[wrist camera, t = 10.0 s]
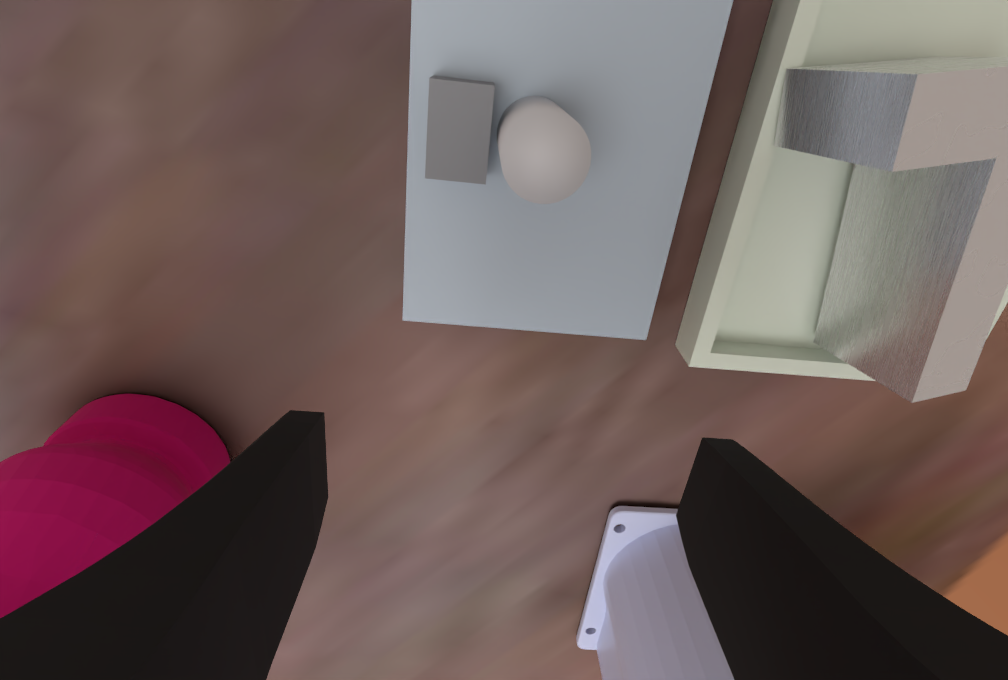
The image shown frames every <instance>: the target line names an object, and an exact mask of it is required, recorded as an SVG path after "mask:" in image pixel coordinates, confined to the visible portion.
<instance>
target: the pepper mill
mask: <svg viewBox="0 0 1008 680" xmlns="http://www.w3.org/2000/svg"><path fill="white" fill-rule="evenodd" d="M229 463H230V459H229V455H228V452H227V449H226V446H225V445H224V443H223V442H222V440H221V439H220V438H219V436H218V435H217V433H216V432H215V431H214V429H213V428H211V427H210V426H209V425H208V424H207V423H206V422H205V421H203V420H202V419H201V418H200V417H199V416H198V415H196V414H194V413H193V412H191V411H189V410H187V409H185V408H184V407H182V406H180V405H178V404H176V403H173V402H170V401H167V400H164V399H161V398H158V397H155V396H148V395H140V394H128V393H127V394H118V395H111V396H106V397H103V398H100V399H97V400H94V401H92V402H90V403H88V404H86V405H84V406H83V407H82V408H80V409H79V410H78V411H77V412H76V413H75V414H74V415H72V416H71V417H70V418H69V419H68V420H67V421H66V422H65V423H64V424H63V425H62V426H61V427H59V428H58V429H57V430H56V431H55V432H54V433H53V434H52V435H51V436H50V437H49V438H48V440H47V441H46V442H45V443H44V446H43V447H39V448H34V449H30V450H27V451H24V452H21V453H18V454H15V455H13V456H11V457H9V458H7V459H5V460H3V461H2V462H0V618H2V617H4V616H5V615H7V614H9V613H11V612H12V611H14V610H16V609H18V608H19V607H21V606H23V605H24V604H26V603H28V602H30V601H31V600H33V599H35V598H37V597H38V596H40V595H42V594H43V593H45V592H47V591H49V590H50V589H52V588H54V587H56V586H57V585H59V584H61V583H62V582H64V581H66V580H68V579H69V578H71V577H73V576H75V575H76V574H78V573H80V572H81V571H83V570H84V569H86V568H88V567H89V566H91V565H93V564H94V563H96V562H97V561H99V560H100V559H102V558H103V557H105V556H106V555H108V554H109V553H111V552H113V551H114V550H116V549H117V548H119V547H120V546H122V545H123V544H125V543H126V542H128V541H129V540H131V539H132V538H134V537H135V536H137V535H138V534H139V533H141V532H142V531H144V530H145V529H147V528H148V527H149V526H151V525H152V524H153V523H155V522H156V521H158V520H159V519H160V518H162V517H163V516H164V515H165V514H167V513H168V512H169V511H171V510H172V509H173V508H175V507H176V506H177V505H178V504H180V503H181V502H182V501H184V500H185V499H186V498H188V497H189V496H190V495H192V494H193V493H194V492H195V491H197V490H198V489H199V488H200V487H202V486H203V485H204V484H205V483H207V482H208V481H209V480H210V479H211V478H213V477H214V476H215V475H216V474H217V473H219V472H220V471H221V470H222V469H223V468H224V467H226V466H227V465H228V464H229Z"/></svg>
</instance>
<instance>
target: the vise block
mask: <svg viewBox="0 0 1008 680" xmlns="http://www.w3.org/2000/svg"><path fill="white" fill-rule="evenodd" d="M732 4H733V0H412V11H411V46H410V81H409V116H408V151H407V185H406V220H405V255H404V290H403V321H416V322H428V323H441V324H453V325H466V326H478V327H490V328H503V329H515V330H528V331H540V332H552V333H565V334H577V335H590V336H602V337H614V338H627V339H639V340H646V339H647V335H648V331H649V327H650V323H651V319H652V315H653V311H654V308H655V304H656V300H657V296H658V292H659V288H660V284H661V280H662V276H663V272H664V269H665V265H666V261H667V257H668V253H669V249H670V245H671V241H672V237H673V233H674V230H675V226H676V222H677V218H678V214H679V210H680V206H681V202H682V198H683V195H684V191H685V187H686V183H687V179H688V175H689V171H690V167H691V163H692V159H693V156H694V152H695V148H696V144H697V140H698V136H699V132H700V128H701V124H702V120H703V117H704V113H705V109H706V105H707V101H708V97H709V93H710V89H711V85H712V82H713V78H714V74H715V70H716V66H717V62H718V58H719V54H720V50H721V46H722V43H723V39H724V35H725V31H726V27H727V23H728V19H729V15H730V11H731V7H732Z"/></svg>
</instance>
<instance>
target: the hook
mask: <svg viewBox="0 0 1008 680" xmlns="http://www.w3.org/2000/svg"><path fill="white" fill-rule="evenodd" d="M774 146H777V147H782V148H786V149H791V150H795V151H800V152H804V153H809V154H813V155H818V156H822V157H827V158H831V159H836V160H840V161H845V162H849V163H854V164H855V165H854V169H853V173H852V178H851V182H850V186H849V190H848V195H847V199H846V203H845V208H844V212H843V216H842V221H841V225H840V229H839V234H838V238H837V242H836V246H835V251H834V255H833V259H832V264H831V268H830V272H829V277H828V281H827V285H826V290H825V294H824V298H823V302H822V307H821V311H820V315H819V320H818V324H817V328H816V333H815V337H814V341H813V343H815V344H817V345H818V346H820V347H822V348H823V349H825V350H826V351H828V352H830V353H831V354H833V355H835V356H836V357H838V358H840V359H841V360H843V361H844V362H846V363H848V364H849V365H851V366H853V367H854V368H856V369H857V370H859V371H861V372H862V373H864V374H866V375H867V376H869V377H871V378H872V379H874V380H875V381H877V382H879V383H880V384H882V385H884V386H885V387H887V388H888V389H890V390H892V391H893V392H895V393H897V394H898V395H900V396H901V397H903V398H905V399H906V400H908V401H910V402H911V403H914V402H918V401H922V400H926V399H931V398H935V397H939V396H944V395H948V394H952V393H956V392H961V391H965V390H966V389H967V386H968V384H969V381H970V379H971V376H972V374H973V371H974V369H975V366H976V364H977V361H978V359H979V356H980V354H981V351H982V348H983V346H984V343H985V341H986V338H987V336H988V333H989V331H990V328H991V326H992V323H993V321H994V318H995V316H996V313H997V310H998V308H999V305H1000V303H1001V300H1002V298H1003V295H1004V293H1005V290H1006V288H1007V285H1008V57H945V56H935V57H922V58H910V59H898V60H886V61H873V62H861V63H849V64H837V65H824V66H812V67H800V68H788V69H786V74H785V80H784V86H783V93H782V99H781V105H780V111H779V117H778V123H777V129H776V135H775V141H774Z"/></svg>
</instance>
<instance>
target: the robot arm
mask: <svg viewBox="0 0 1008 680" xmlns="http://www.w3.org/2000/svg"><path fill="white" fill-rule="evenodd" d="M327 499H328V484H327V463H326V442H325V420H324V413H323V412H307V411H292V410H290V411H289V412H288V413H286V414H285V415H284V416H283V417H282V418H280V419H279V420H278V421H277V422H276V423H275V424H274V425H272V426H271V427H270V428H269V429H268V430H267V431H266V432H265V433H263V434H262V435H261V436H260V437H259V438H258V439H257V440H256V441H255V442H253V443H252V444H251V445H250V446H249V447H248V448H247V449H245V450H244V451H243V452H242V453H241V454H240V455H239V456H237V457H236V458H235V459H234V460H233V461H232V462H230V463H229V464H228V465H227V466H226V467H224V468H223V469H222V470H221V471H220V472H219V473H217V474H216V475H215V476H214V477H213V478H211V479H210V480H209V481H208V482H207V483H205V484H204V485H203V486H202V487H200V488H199V489H198V490H197V491H195V492H194V493H193V494H192V495H190V496H189V497H188V498H186V499H185V500H184V501H182V502H181V503H180V504H178V505H177V506H176V507H175V508H173V509H172V510H171V511H169V512H168V513H167V514H165V515H164V516H163V517H162V518H160V519H159V520H158V521H156V522H155V523H153V524H152V525H151V526H149V527H148V528H147V529H145V530H144V531H142V532H141V533H139V534H138V535H137V536H135V537H134V538H132V539H131V540H129V541H128V542H126V543H125V544H123V545H122V546H120V547H119V548H117V549H116V550H114V551H113V552H111V553H109V554H108V555H106V556H105V557H103V558H102V559H100V560H99V561H97V562H96V563H94V564H93V565H91V566H89V567H88V568H86V569H84V570H83V571H81V572H80V573H78V574H76V575H75V576H73V577H71V578H69V579H68V580H66V581H64V582H62V583H61V584H59V585H57V586H56V587H54V588H52V589H50V590H49V591H47V592H45V593H43V594H42V595H40V596H38V597H37V598H35V599H33V600H31V601H30V602H28V603H26V604H24V605H23V606H21V607H19V608H18V609H16V610H14V611H12V612H11V613H9V614H7V615H5V616H4V617H2V618H0V680H266V678H267V675H268V672H269V670H270V667H271V664H272V661H273V659H274V656H275V654H276V651H277V648H278V646H279V643H280V640H281V638H282V635H283V633H284V630H285V627H286V625H287V622H288V619H289V617H290V614H291V612H292V609H293V606H294V604H295V601H296V599H297V596H298V593H299V591H300V588H301V585H302V583H303V580H304V577H305V575H306V572H307V569H308V567H309V564H310V561H311V559H312V556H313V553H314V550H315V548H316V544H317V540H318V536H319V532H320V528H321V525H322V520H323V516H324V512H325V508H326V504H327ZM619 524H622V525H620V526H616V525H619ZM576 640H577V645H578V647H580V648H582V649H588V650H597V653H598V659H599V664H600V669H601V674H602V679H603V680H1008V636H1007V635H1006V634H1004V633H1002V632H1000V631H999V630H997V629H995V628H993V627H992V626H990V625H988V624H987V623H985V622H983V621H981V620H980V619H978V618H977V617H975V616H973V615H972V614H970V613H968V612H967V611H965V610H963V609H961V608H960V607H959V606H957V605H955V604H954V603H952V602H951V601H949V600H948V599H946V598H945V597H943V596H942V595H940V594H939V593H937V592H935V591H934V590H932V589H931V588H929V587H928V586H926V585H925V584H923V583H922V582H920V581H918V580H917V579H915V578H914V577H912V576H911V575H909V574H908V573H906V572H905V571H904V570H902V569H901V568H899V567H898V566H896V565H895V564H893V563H892V562H891V561H889V560H888V559H886V558H885V557H884V556H882V555H881V554H880V553H878V552H877V551H875V550H874V549H873V548H871V547H870V546H869V545H867V544H866V543H864V542H863V541H862V540H860V539H859V538H858V537H856V536H855V535H854V534H852V533H851V532H850V531H848V530H847V529H846V528H844V527H843V526H842V525H840V524H839V523H838V522H837V521H835V520H834V519H833V518H831V517H830V516H829V515H828V514H826V513H825V512H824V511H822V510H821V509H820V508H819V507H817V506H816V505H815V504H814V503H812V502H811V501H810V500H809V499H807V498H806V497H805V496H804V495H802V494H801V493H800V492H799V491H798V490H796V489H795V488H794V487H793V486H791V485H790V484H789V483H788V482H786V481H785V480H784V479H783V478H782V477H780V476H779V475H778V474H777V473H775V472H774V471H773V470H772V469H770V468H769V467H768V466H767V465H766V464H764V463H763V462H762V461H761V460H759V459H758V458H757V457H756V456H754V455H753V454H752V453H750V452H749V451H748V450H746V449H745V448H744V447H742V446H741V445H740V444H738V443H737V442H735V441H734V440H732V439H716V438H702V440H701V443H700V446H699V449H698V452H697V455H696V458H695V461H694V464H693V467H692V470H691V473H690V475H689V478H688V481H687V484H686V487H685V490H684V493H683V496H682V499H681V502H680V505H679V508H678V509H671V508H652V507H634V506H617V507H615V508H613V509H612V510H611V511H610V513H609V516H608V519H607V523H606V527H605V531H604V534H603V538H602V542H601V546H600V550H599V553H598V557H597V561H596V565H595V568H594V572H593V576H592V580H591V584H590V587H589V591H588V595H587V599H586V602H585V606H584V610H583V614H582V618H581V621H580V625H579V629H578V633H577V636H576Z"/></svg>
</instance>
